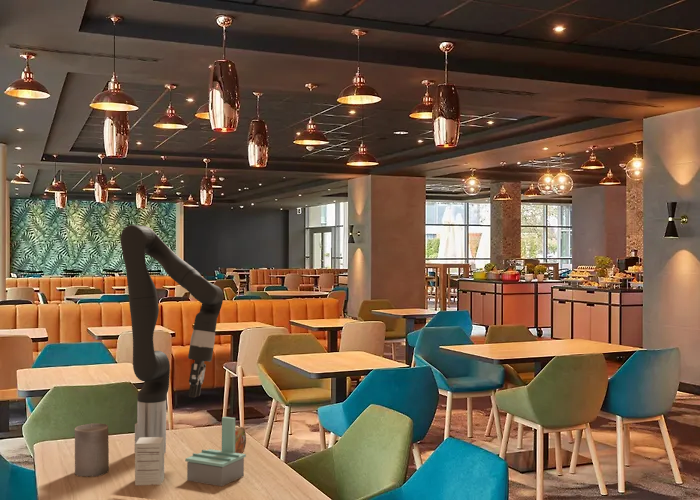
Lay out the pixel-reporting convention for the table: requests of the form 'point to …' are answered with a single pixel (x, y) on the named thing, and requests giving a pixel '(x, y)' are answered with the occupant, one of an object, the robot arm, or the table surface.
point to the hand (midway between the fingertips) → (194, 396)
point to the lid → (227, 451)
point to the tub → (215, 473)
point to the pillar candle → (91, 449)
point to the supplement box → (149, 461)
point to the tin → (240, 439)
